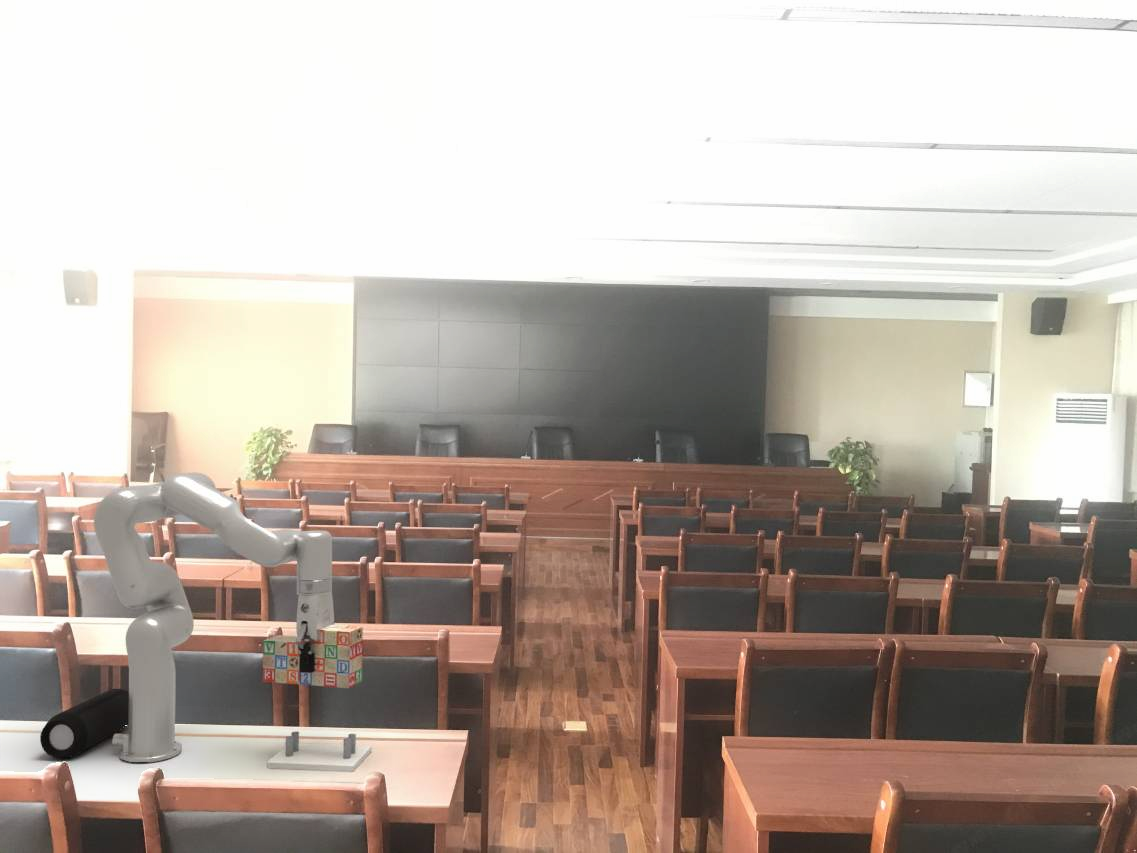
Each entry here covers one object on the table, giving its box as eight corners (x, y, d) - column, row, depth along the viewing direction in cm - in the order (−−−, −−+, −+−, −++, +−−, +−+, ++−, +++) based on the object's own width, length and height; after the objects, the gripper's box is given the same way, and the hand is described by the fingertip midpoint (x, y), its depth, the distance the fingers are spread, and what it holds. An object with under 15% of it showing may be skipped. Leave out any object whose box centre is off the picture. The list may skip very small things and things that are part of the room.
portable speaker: (102, 726, 226) (103, 685, 226) (141, 727, 225) (142, 686, 226) (35, 761, 201) (36, 715, 201) (79, 763, 200) (80, 716, 200)
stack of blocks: (261, 682, 203) (262, 626, 204) (277, 675, 209) (277, 621, 210) (349, 688, 198) (349, 630, 198) (363, 681, 204) (363, 625, 204)
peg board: (266, 768, 197) (267, 743, 198) (290, 748, 210) (290, 725, 211) (353, 771, 196) (353, 747, 196) (371, 751, 209) (371, 728, 209)
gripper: (313, 593, 195) (313, 678, 195) (346, 581, 212) (346, 659, 212) (280, 592, 196) (280, 677, 196) (315, 580, 213) (315, 658, 213)
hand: (314, 667), depth 204 cm, fingers closed on stack of blocks, 6 cm apart
